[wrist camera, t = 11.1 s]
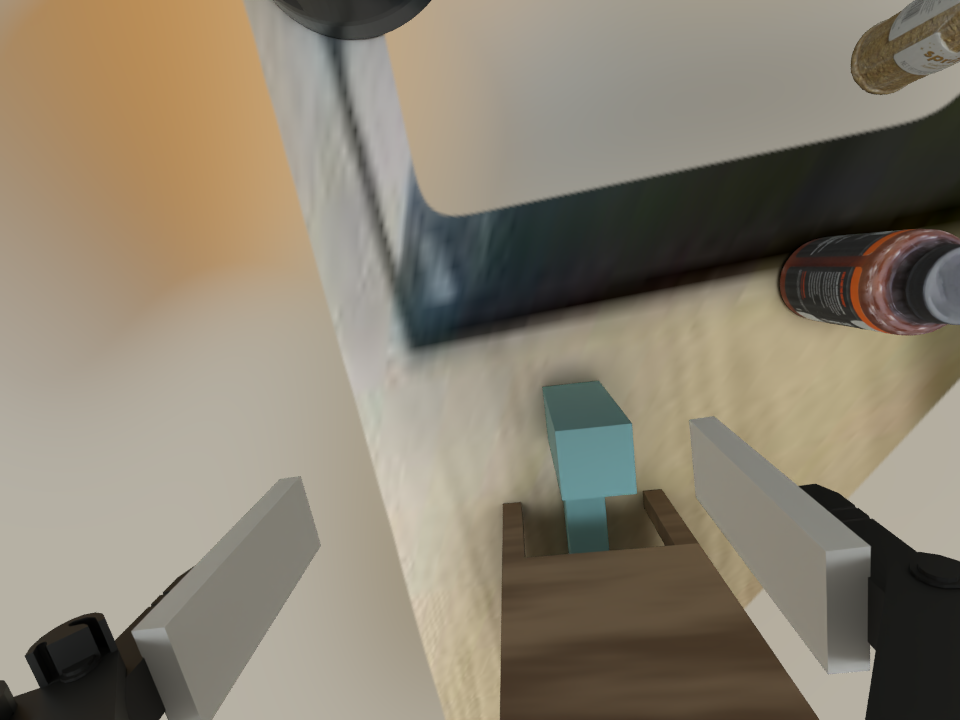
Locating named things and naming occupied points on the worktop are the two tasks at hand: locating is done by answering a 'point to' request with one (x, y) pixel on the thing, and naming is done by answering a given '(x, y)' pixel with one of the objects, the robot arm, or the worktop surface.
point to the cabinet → (632, 634)
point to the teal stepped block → (588, 458)
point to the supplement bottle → (877, 281)
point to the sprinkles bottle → (908, 46)
